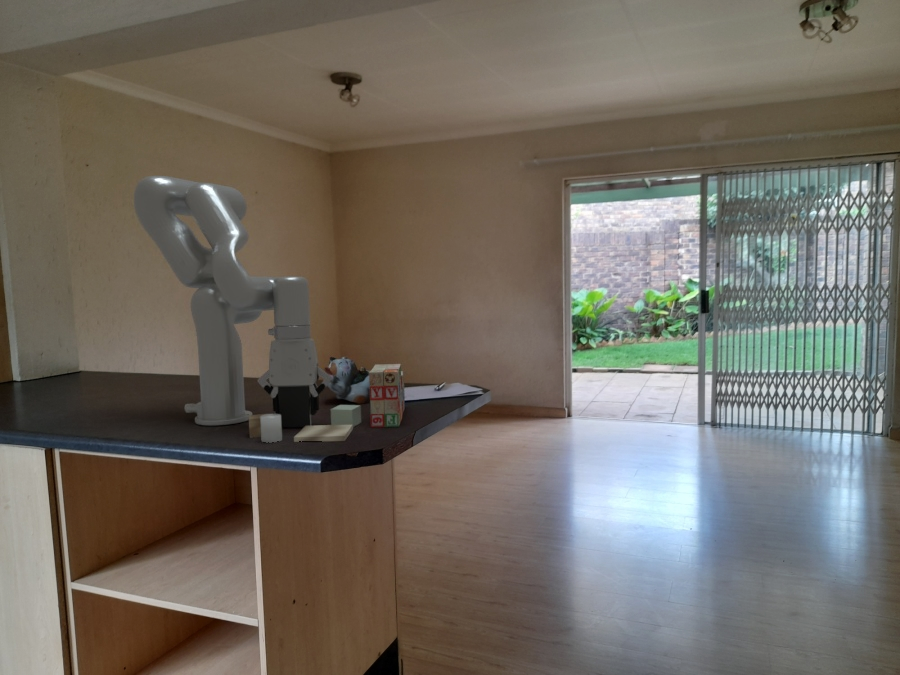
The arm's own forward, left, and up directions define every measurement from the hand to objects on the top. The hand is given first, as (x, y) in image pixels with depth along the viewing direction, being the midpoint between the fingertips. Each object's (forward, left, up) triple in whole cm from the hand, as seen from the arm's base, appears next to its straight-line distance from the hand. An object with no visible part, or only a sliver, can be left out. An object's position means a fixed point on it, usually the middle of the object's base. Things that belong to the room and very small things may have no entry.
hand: (296, 413), depth 135 cm
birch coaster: (+8, -9, -3) cm, 12 cm away
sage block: (+11, +1, -3) cm, 11 cm away
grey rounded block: (-2, -12, -3) cm, 13 cm away
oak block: (-6, -7, -3) cm, 10 cm away
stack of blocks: (+19, +8, -3) cm, 21 cm away
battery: (0, 0, -3) cm, 3 cm away
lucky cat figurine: (+8, +30, -3) cm, 31 cm away
